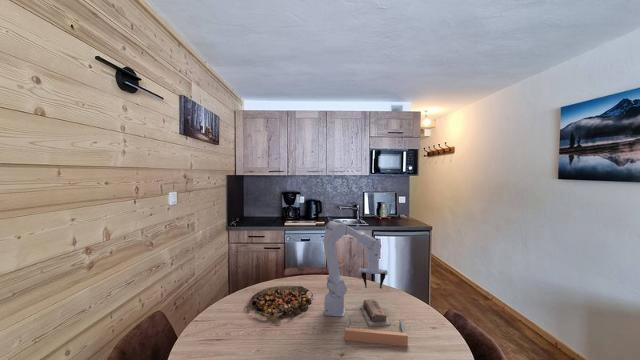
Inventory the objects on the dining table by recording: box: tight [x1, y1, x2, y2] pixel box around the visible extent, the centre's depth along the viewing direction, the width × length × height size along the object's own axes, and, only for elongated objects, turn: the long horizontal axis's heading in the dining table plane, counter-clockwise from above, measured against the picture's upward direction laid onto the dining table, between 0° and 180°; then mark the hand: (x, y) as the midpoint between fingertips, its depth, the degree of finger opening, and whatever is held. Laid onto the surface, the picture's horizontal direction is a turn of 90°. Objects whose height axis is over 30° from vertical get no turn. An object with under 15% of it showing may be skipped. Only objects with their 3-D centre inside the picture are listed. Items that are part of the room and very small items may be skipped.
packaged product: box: [359, 299, 391, 327], centre depth 129 cm, size 18×5×10 cm
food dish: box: [248, 285, 314, 321], centre depth 141 cm, size 35×33×8 cm
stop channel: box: [344, 314, 409, 347], centre depth 115 cm, size 24×16×4 cm, turn 80°
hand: (373, 287), depth 142 cm, fingers open, 7 cm apart
